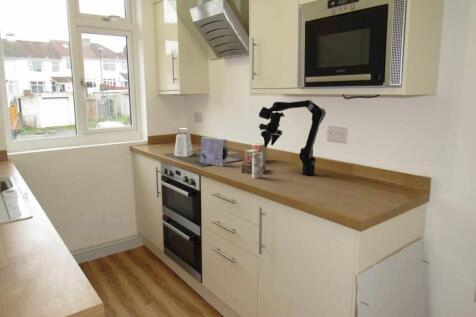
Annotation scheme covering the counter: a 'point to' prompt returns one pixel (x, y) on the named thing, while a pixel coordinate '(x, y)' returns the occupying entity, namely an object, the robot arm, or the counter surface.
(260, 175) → the mottled grey cylinder
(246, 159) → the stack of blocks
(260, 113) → the robot arm
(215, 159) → the cake pan box
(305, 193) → the counter surface
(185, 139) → the grater
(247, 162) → the groove block
